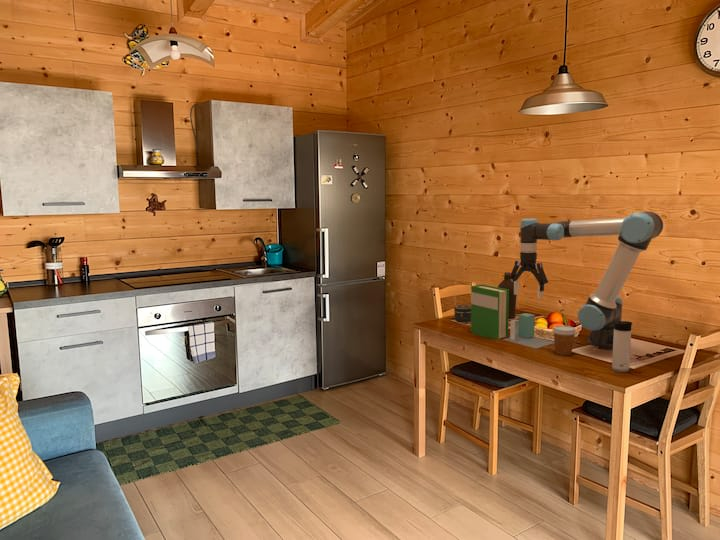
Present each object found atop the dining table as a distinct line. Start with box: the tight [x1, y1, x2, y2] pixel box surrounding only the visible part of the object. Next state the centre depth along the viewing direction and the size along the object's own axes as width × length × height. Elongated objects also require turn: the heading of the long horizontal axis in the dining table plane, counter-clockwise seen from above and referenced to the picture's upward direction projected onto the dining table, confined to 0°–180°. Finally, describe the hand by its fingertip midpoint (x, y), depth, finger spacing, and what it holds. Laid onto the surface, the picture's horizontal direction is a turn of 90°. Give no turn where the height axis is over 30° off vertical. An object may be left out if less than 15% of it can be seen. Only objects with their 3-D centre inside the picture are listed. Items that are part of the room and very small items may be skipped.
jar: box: [453, 304, 471, 323], centre depth 307 cm, size 10×10×8 cm
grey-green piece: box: [518, 312, 536, 338], centre depth 269 cm, size 5×5×11 cm
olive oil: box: [497, 271, 518, 320], centre depth 311 cm, size 11×11×25 cm
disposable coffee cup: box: [552, 324, 577, 356], centre depth 243 cm, size 10×10×12 cm
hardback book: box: [470, 284, 509, 340], centre depth 274 cm, size 18×7×24 cm, turn 33°
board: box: [501, 336, 555, 349], centre depth 263 cm, size 19×15×1 cm
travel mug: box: [611, 320, 633, 373], centre depth 222 cm, size 6×7×20 cm
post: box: [507, 319, 521, 343], centre depth 264 cm, size 4×4×10 cm
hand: (527, 296), depth 267 cm, fingers open, 13 cm apart
